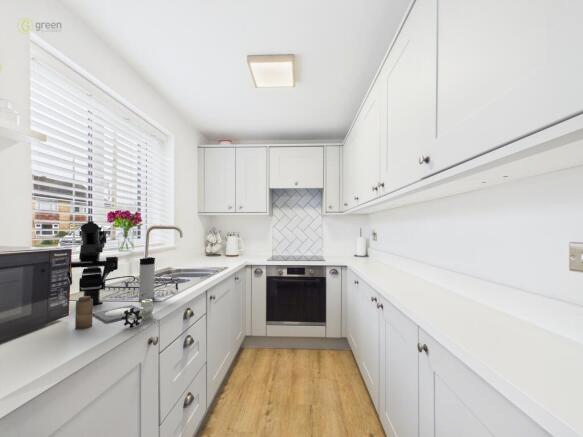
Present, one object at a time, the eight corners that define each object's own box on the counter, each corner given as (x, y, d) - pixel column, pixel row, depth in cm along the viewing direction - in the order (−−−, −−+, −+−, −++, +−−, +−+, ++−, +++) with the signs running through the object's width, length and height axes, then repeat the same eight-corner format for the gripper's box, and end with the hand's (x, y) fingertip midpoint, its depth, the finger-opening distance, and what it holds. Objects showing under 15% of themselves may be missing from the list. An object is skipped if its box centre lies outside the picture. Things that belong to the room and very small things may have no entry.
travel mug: (142, 302, 121) (143, 258, 122) (136, 300, 125) (137, 256, 126) (156, 299, 126) (157, 256, 126) (150, 297, 130) (151, 255, 131)
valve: (140, 316, 103) (121, 328, 91) (141, 298, 103) (121, 308, 91) (158, 316, 103) (140, 328, 91) (158, 299, 103) (141, 308, 91)
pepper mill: (73, 327, 91) (74, 297, 91) (89, 323, 95) (90, 294, 95) (77, 330, 88) (78, 299, 89) (94, 326, 92) (95, 297, 92)
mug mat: (92, 315, 103) (92, 312, 103) (131, 306, 115) (131, 304, 115) (106, 323, 95) (106, 320, 95) (147, 313, 106) (147, 310, 106)
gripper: (57, 237, 98) (50, 271, 89) (118, 236, 108) (117, 267, 99) (60, 256, 104) (54, 291, 95) (117, 254, 115) (117, 285, 105)
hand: (87, 283), depth 98 cm, fingers open, 9 cm apart
